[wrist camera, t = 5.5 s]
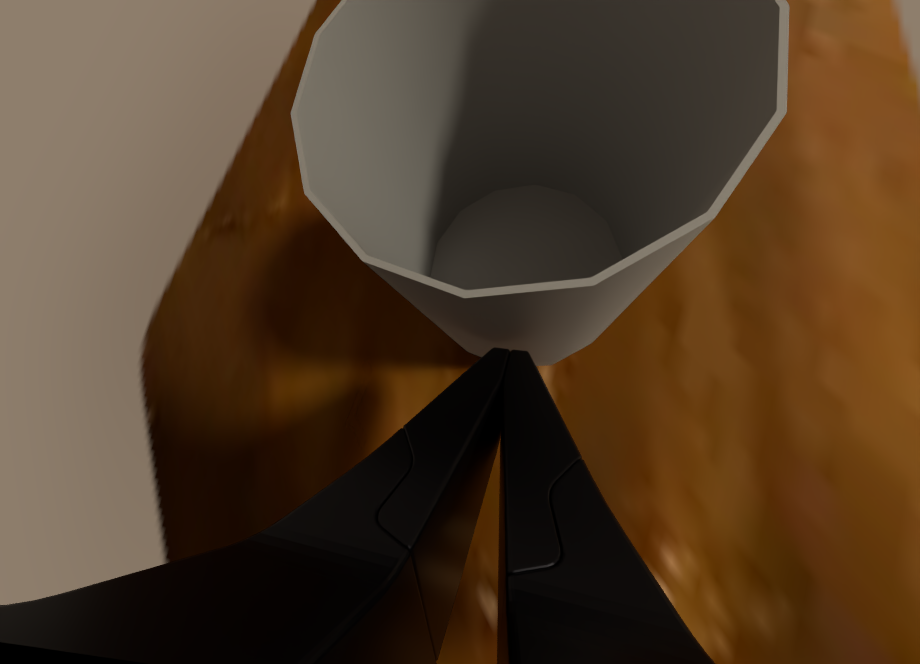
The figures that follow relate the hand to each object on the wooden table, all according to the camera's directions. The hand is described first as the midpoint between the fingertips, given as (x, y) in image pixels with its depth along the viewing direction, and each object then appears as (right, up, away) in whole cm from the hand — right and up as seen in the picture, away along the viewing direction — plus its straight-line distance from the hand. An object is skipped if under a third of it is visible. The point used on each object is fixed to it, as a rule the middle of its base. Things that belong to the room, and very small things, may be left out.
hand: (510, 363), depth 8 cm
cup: (+2, +3, +7) cm, 8 cm away
